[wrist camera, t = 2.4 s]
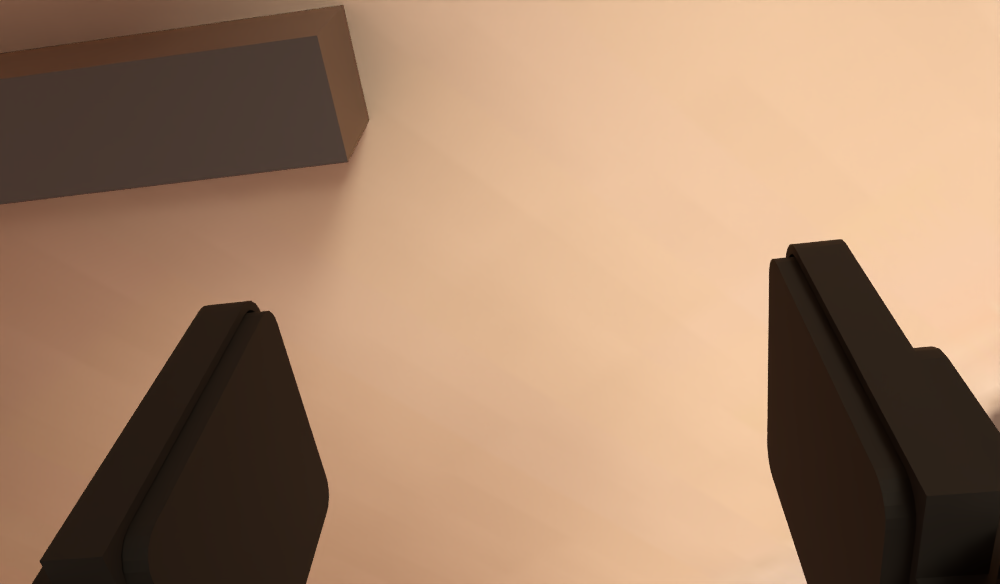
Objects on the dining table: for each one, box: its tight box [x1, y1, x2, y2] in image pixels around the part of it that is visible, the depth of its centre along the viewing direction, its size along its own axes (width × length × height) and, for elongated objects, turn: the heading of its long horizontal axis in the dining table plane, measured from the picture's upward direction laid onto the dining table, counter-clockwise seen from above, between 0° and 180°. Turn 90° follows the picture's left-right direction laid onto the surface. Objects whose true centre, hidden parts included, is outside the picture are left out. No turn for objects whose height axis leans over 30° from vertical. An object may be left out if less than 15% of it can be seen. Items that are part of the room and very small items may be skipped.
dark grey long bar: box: [0, 5, 369, 204], centre depth 24 cm, size 18×4×4 cm, turn 98°
